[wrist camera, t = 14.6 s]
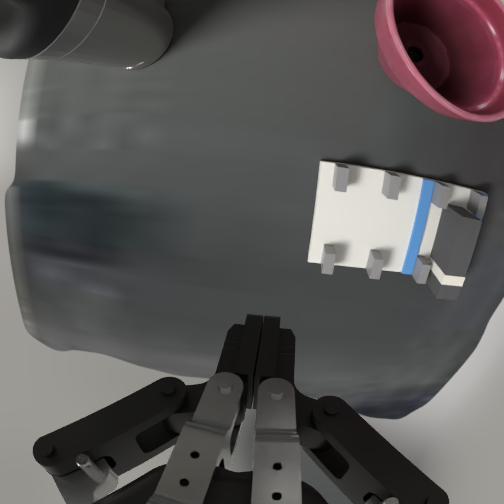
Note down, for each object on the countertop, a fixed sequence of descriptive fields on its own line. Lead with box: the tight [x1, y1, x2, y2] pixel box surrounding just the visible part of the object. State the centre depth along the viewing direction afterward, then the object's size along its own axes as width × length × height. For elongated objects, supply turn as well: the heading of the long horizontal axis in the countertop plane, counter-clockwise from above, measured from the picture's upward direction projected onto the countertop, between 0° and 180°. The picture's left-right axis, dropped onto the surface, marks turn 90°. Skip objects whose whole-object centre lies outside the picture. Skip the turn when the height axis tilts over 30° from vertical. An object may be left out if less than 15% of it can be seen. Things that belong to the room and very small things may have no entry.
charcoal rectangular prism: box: [426, 204, 482, 300], centre depth 30 cm, size 10×3×5 cm, turn 177°
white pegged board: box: [308, 160, 488, 284], centre depth 32 cm, size 12×22×4 cm, turn 87°
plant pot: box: [375, 0, 504, 122], centre depth 19 cm, size 14×14×13 cm
